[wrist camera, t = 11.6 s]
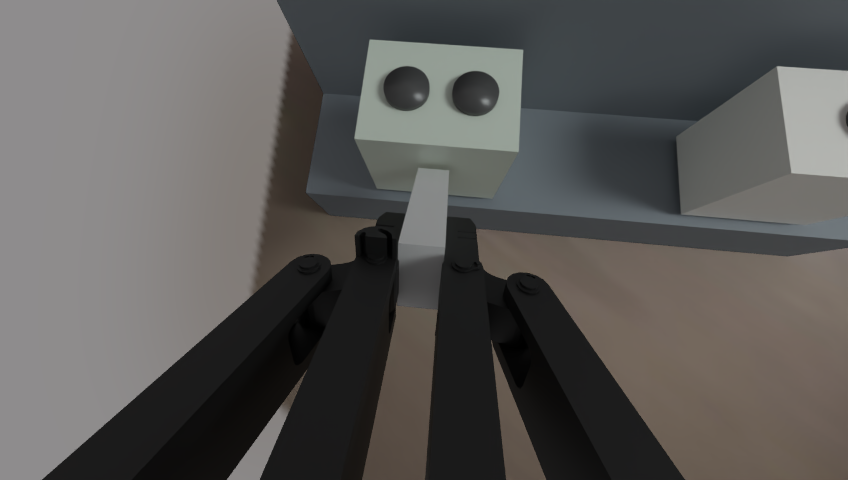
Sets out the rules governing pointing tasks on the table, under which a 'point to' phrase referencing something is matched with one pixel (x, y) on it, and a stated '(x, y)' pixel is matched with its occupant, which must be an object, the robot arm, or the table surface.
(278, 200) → the table surface
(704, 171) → the key one
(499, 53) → the key two
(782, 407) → the table surface
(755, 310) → the table surface
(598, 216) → the grey stepped stand
